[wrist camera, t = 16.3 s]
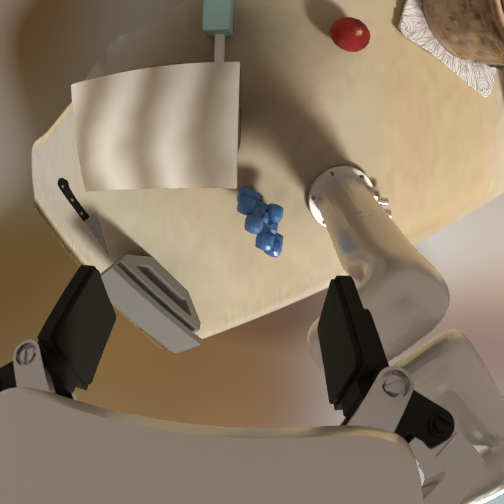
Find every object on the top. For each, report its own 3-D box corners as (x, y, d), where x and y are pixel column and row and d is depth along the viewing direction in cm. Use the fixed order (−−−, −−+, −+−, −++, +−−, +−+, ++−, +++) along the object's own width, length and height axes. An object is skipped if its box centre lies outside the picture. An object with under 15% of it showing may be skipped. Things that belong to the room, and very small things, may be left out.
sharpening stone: (206, 308, 66) (200, 344, 57) (183, 319, 69) (175, 353, 60) (131, 234, 54) (111, 267, 45) (110, 252, 57) (90, 284, 48)
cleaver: (83, 158, 45) (55, 182, 47) (82, 159, 44) (53, 183, 47) (159, 268, 60) (128, 281, 62) (159, 270, 60) (127, 283, 62)
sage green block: (234, -1, 29) (230, -14, 23) (230, 103, 40) (226, 107, 34) (211, 0, 29) (204, -12, 23) (208, 103, 40) (201, 107, 34)
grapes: (296, 217, 52) (306, 255, 42) (265, 234, 54) (268, 274, 44) (262, 167, 46) (265, 195, 36) (230, 187, 48) (223, 220, 39)
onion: (338, 15, 30) (354, 5, 23) (366, 36, 32) (386, 31, 25) (318, 38, 33) (331, 31, 26) (347, 59, 35) (365, 57, 28)
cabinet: (245, 66, 36) (239, 56, 21) (243, 145, 44) (236, 188, 29) (136, 73, 36) (70, 80, 20) (140, 147, 44) (85, 191, 28)
